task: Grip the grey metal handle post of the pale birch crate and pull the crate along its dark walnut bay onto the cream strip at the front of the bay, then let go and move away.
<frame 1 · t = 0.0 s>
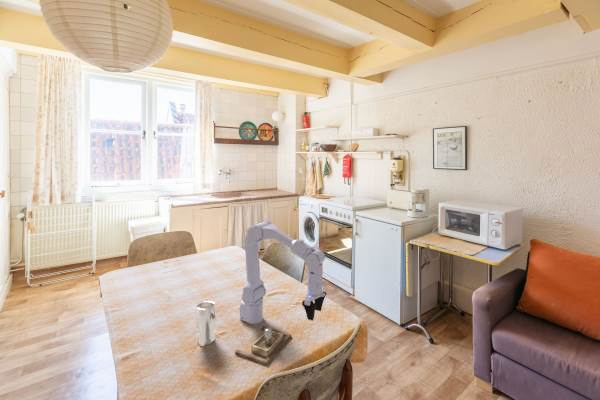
hand: (314, 314, 114), 10 cm above the table, tool pointing down, fingers open, 7 cm apart
silver metal tumbler: (207, 342, 113), on the table
bay: (264, 347, 110), on the table
crate: (268, 337, 109), point 4 cm above the table, slide at 0.0 cm
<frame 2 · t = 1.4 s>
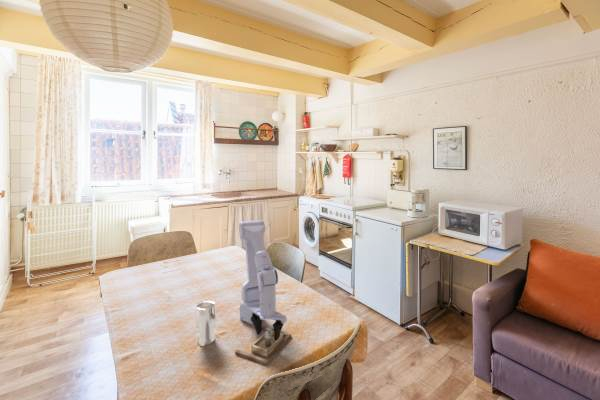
hand: (268, 336, 109), 5 cm above the table, tool pointing down, fingers open, 7 cm apart
nothing on the table moved.
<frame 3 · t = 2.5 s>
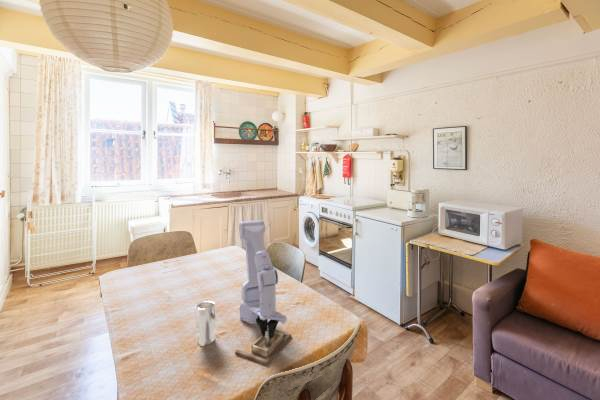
hand: (268, 336, 109), 5 cm above the table, tool pointing down, fingers closed on crate, 2 cm apart
crate: (268, 337, 109), point 4 cm above the table, slide at 0.0 cm, touching gripper
everything else where it was.
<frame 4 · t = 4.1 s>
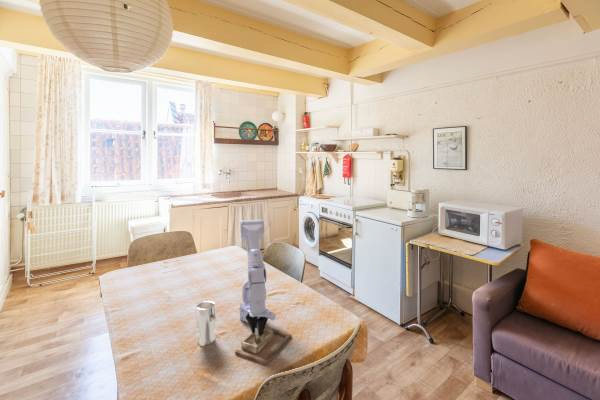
hand: (257, 333, 111), 5 cm above the table, tool pointing down, fingers closed on crate, 2 cm apart
crate: (257, 334, 111), point 4 cm above the table, slide at 4.5 cm, touching gripper
everything else where it was.
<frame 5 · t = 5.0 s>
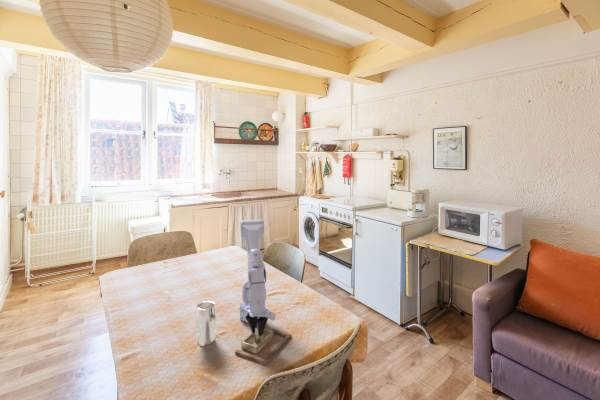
hand: (257, 333, 111), 5 cm above the table, tool pointing down, fingers closed on crate, 2 cm apart
crate: (257, 334, 111), point 4 cm above the table, slide at 4.5 cm, touching gripper
everything else where it was.
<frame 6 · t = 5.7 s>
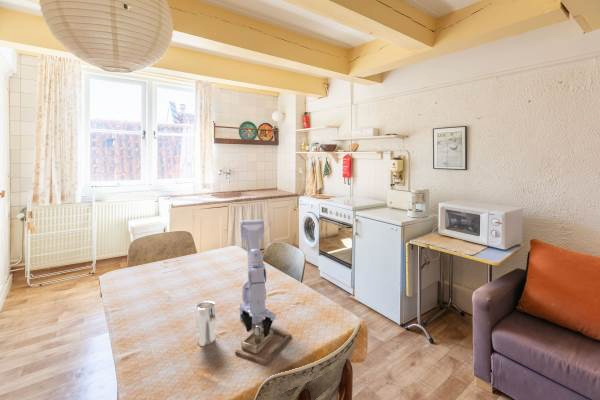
hand: (257, 333, 111), 5 cm above the table, tool pointing down, fingers open, 7 cm apart
crate: (257, 334, 111), point 4 cm above the table, slide at 4.5 cm
everything else where it was.
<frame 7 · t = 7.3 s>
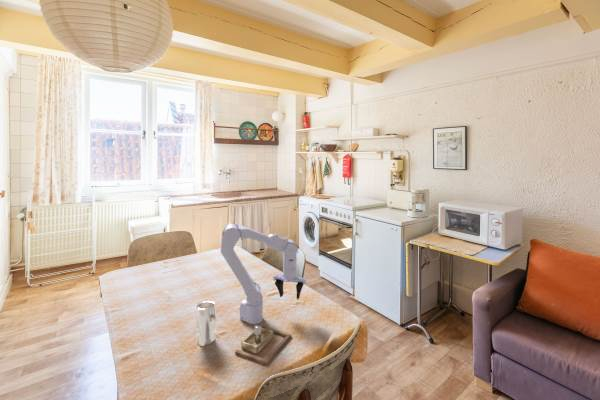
hand: (289, 297, 130), 9 cm above the table, tool pointing down, fingers open, 7 cm apart
nothing on the table moved.
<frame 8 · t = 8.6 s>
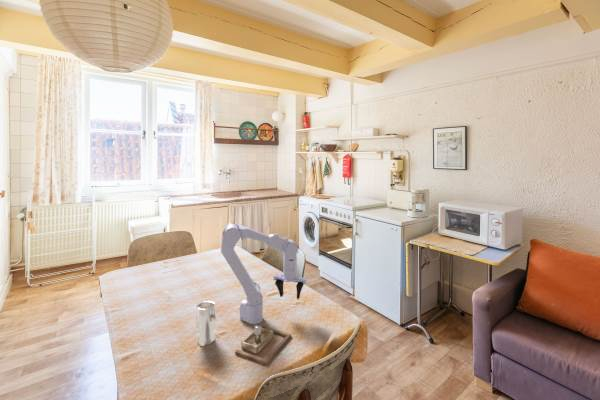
hand: (289, 297, 130), 9 cm above the table, tool pointing down, fingers open, 7 cm apart
nothing on the table moved.
at the end: crate slide at 4.5 cm; the gripper is holding nothing; silver metal tumbler moved 0.2 cm from its start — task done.
